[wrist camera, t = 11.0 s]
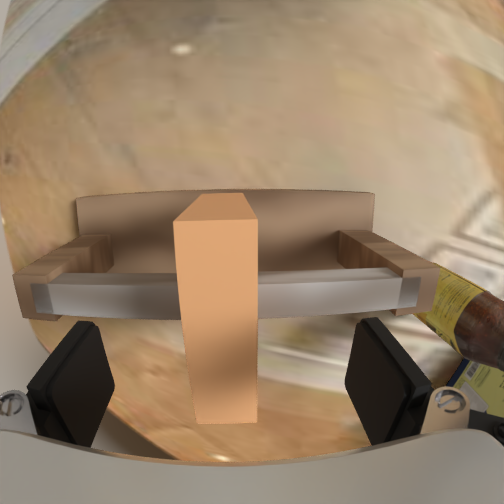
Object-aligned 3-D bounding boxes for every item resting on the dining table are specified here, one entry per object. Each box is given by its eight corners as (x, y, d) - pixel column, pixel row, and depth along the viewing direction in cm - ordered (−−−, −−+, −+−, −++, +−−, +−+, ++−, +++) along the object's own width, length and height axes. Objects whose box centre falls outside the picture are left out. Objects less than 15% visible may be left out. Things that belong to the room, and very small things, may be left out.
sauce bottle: (389, 307, 32) (500, 419, 13) (403, 254, 30) (542, 343, 11) (430, 307, 32) (537, 399, 13) (444, 259, 31) (570, 333, 12)
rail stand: (83, 196, 26) (-2, 220, 13) (368, 192, 28) (453, 213, 15) (94, 292, 29) (32, 360, 16) (359, 287, 31) (424, 353, 18)
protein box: (510, 329, 36) (566, 371, 21) (465, 401, 39) (508, 452, 25) (485, 318, 34) (552, 368, 19) (434, 400, 38) (481, 462, 23)
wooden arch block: (202, 193, 22) (173, 221, 10) (242, 192, 22) (257, 219, 11) (208, 316, 25) (196, 423, 13) (244, 315, 25) (257, 422, 13)
